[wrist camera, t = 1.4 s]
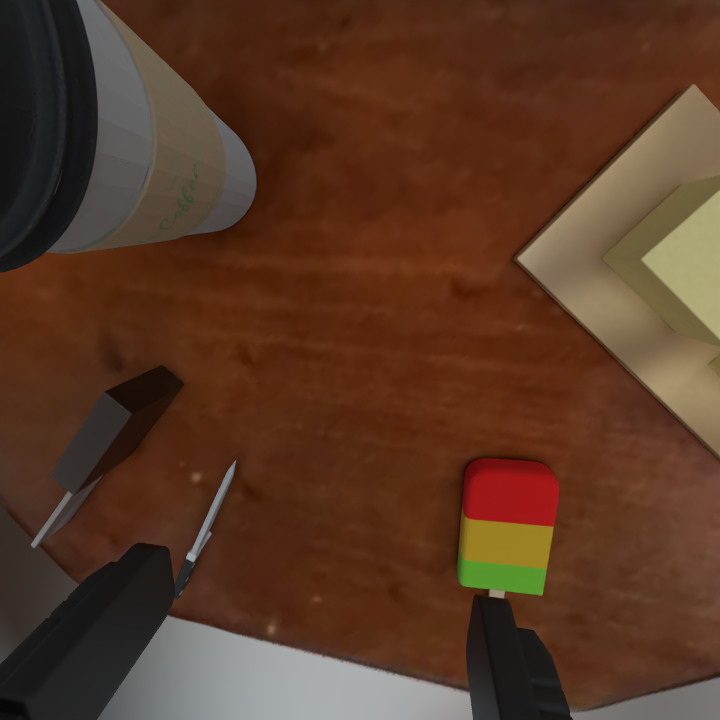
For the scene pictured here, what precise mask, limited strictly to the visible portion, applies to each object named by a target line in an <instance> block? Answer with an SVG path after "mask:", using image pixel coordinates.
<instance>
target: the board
mask: <svg viewBox="0 0 720 720" xmlns="http://www.w3.org/2000/svg"><path fill="white" fill-rule="evenodd" d="M717 175H720V112H719V111H718V110H717V108H716V107H715V106H714V105H713V104H712V103H711V102H710V101H709V100H708V99H707V97H706V96H705V95H704V94H703V93H702V92H701V91H700V90H699V89H698V88H697V87H696V85H695V84H692V85H690V86H689V87H687V88H685V89H684V90H682V91H680V92H679V93H678V94H677V95H676V96H675V97H674V98H673V99H672V100H671V101H670V102H669V103H668V104H667V105H666V106H665V107H664V108H663V109H662V110H661V111H660V112H659V113H658V114H657V115H656V116H655V117H654V118H653V119H652V120H651V121H650V122H649V123H648V124H647V125H645V126H644V127H643V128H642V129H641V130H640V131H639V132H638V133H637V134H636V135H635V136H634V137H633V138H632V139H631V140H630V141H629V142H628V143H627V144H626V145H625V146H624V147H623V148H622V149H621V150H620V151H619V152H618V153H617V154H616V155H615V156H614V157H613V158H612V159H611V160H610V161H609V162H608V163H607V164H606V165H605V166H604V167H603V168H602V169H601V170H600V171H599V172H598V173H597V174H596V175H595V176H594V177H593V178H592V179H591V180H590V181H589V182H588V183H587V184H586V185H585V186H584V187H583V188H582V189H581V190H580V191H579V192H578V193H577V194H576V195H575V196H574V197H573V198H572V199H571V200H570V201H569V202H568V203H567V204H566V205H565V206H564V207H563V208H562V209H561V210H560V211H559V212H558V213H557V214H556V215H555V216H554V217H553V218H552V219H551V220H550V221H549V222H548V223H547V224H546V225H545V226H544V227H543V228H542V229H541V230H540V231H539V232H538V233H537V234H536V235H535V236H534V237H533V238H532V239H531V240H530V241H529V242H528V243H527V244H526V245H525V246H524V247H523V248H522V249H521V250H520V251H519V252H518V253H517V254H516V255H515V256H514V257H513V260H514V261H515V262H516V263H517V264H518V265H519V266H520V267H521V268H522V269H523V270H524V271H525V272H526V273H527V274H528V275H529V276H530V277H531V278H532V279H533V280H534V281H536V282H537V283H538V284H539V285H540V286H541V287H542V288H543V289H544V290H545V291H546V292H547V293H548V294H549V295H550V296H551V297H552V298H553V299H554V300H555V301H556V302H557V303H558V304H559V305H560V306H561V307H562V308H563V309H564V310H565V311H566V312H567V313H569V314H570V315H571V316H572V317H573V318H574V319H575V320H576V321H577V322H578V323H579V324H580V325H581V326H582V327H583V328H584V329H585V330H586V331H587V332H588V333H589V334H590V335H591V336H592V337H593V338H594V339H595V340H596V341H597V342H598V343H599V344H600V345H602V346H603V347H604V348H605V349H606V350H607V351H608V352H609V353H610V354H611V355H612V356H613V357H614V358H615V359H616V360H617V361H618V362H619V363H620V364H621V365H622V366H623V367H624V368H625V369H626V370H627V371H628V372H629V373H630V374H631V375H632V376H633V377H635V378H636V379H637V380H638V381H639V382H640V383H641V384H642V385H643V386H644V387H645V388H646V389H647V390H648V391H649V392H650V393H651V394H652V395H653V396H654V397H655V398H656V399H657V400H658V401H659V402H660V403H661V404H662V405H663V406H664V407H665V408H666V409H668V410H669V411H670V412H671V413H672V414H673V415H674V416H675V417H676V418H677V419H678V420H679V421H680V422H681V423H682V424H683V425H684V426H685V427H686V428H687V429H688V430H689V431H690V432H691V433H692V434H693V435H694V436H695V437H696V438H697V439H698V440H699V441H701V442H702V443H703V444H704V445H705V446H706V447H707V448H708V449H709V450H710V451H711V452H712V453H713V454H714V455H715V456H716V457H717V458H718V459H719V460H720V376H719V375H718V374H717V373H716V372H715V371H714V370H713V369H712V368H711V367H710V366H709V365H708V364H709V363H711V362H712V361H713V360H715V359H716V358H718V357H719V356H720V347H718V346H715V345H712V344H709V343H705V342H702V341H699V340H696V339H693V338H690V337H687V336H684V335H681V334H678V333H676V332H675V331H674V330H673V329H672V328H671V327H670V326H669V325H668V324H667V323H666V322H665V321H664V320H663V319H662V318H661V317H660V316H659V315H658V314H657V313H656V312H655V311H654V310H653V309H652V308H651V307H650V306H649V305H648V304H647V303H646V302H645V301H644V300H643V299H642V298H641V297H640V296H639V295H638V294H637V293H636V292H635V291H634V290H633V289H632V288H631V287H630V286H629V285H628V284H627V283H626V282H625V281H624V280H623V279H622V278H621V277H620V276H619V275H618V274H617V273H616V272H615V271H614V270H613V269H612V268H611V267H610V266H609V265H608V264H607V263H606V262H605V261H604V260H603V259H602V256H604V255H605V254H606V253H607V252H608V251H609V250H610V249H611V248H612V247H613V246H615V245H616V244H617V243H618V242H619V241H620V240H621V239H622V238H623V237H624V236H625V235H627V234H628V233H629V232H630V231H631V230H632V229H633V228H634V227H635V226H636V225H638V224H639V223H640V222H641V221H642V220H643V219H644V218H645V217H646V216H647V215H649V214H650V213H651V212H652V211H653V210H654V209H655V208H656V207H657V206H658V205H660V204H661V203H662V202H663V201H664V200H665V199H666V198H667V197H668V196H669V195H671V194H672V193H673V192H674V191H675V190H676V189H677V188H678V187H679V186H680V185H682V184H684V183H688V182H692V181H696V180H700V179H704V178H708V177H712V176H717Z"/></svg>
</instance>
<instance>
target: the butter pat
mask: <svg viewBox="0 0 720 720" xmlns="http://www.w3.org/2000/svg"><path fill="white" fill-rule="evenodd" d="M708 365H709V366H710V367H711V368H712V369H713V370H714V371H715V372H716V373H717V374H718V375H719V376H720V356H719V357H718V358H716V359H715V360H713V361H712V362H711V363H709V364H708Z"/></svg>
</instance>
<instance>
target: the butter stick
mask: <svg viewBox="0 0 720 720" xmlns="http://www.w3.org/2000/svg"><path fill="white" fill-rule="evenodd" d="M602 259H603V260H604V261H605V262H606V263H607V264H608V265H609V266H610V267H611V268H612V269H613V270H614V271H615V272H616V273H617V274H618V275H619V276H620V277H621V278H622V279H623V280H624V281H625V282H626V283H627V284H628V285H629V286H630V287H631V288H632V289H633V290H634V291H635V292H636V293H637V294H638V295H639V296H640V297H641V298H642V299H643V300H644V301H645V302H646V303H647V304H648V305H649V306H650V307H651V308H652V309H653V310H654V311H655V312H656V313H657V314H658V315H659V316H660V317H661V318H662V319H663V320H664V321H665V322H666V323H667V324H668V325H669V326H670V327H671V328H672V329H673V330H674V331H675V332H676V333H678V334H681V335H684V336H687V337H690V338H693V339H696V340H699V341H702V342H705V343H709V344H712V345H715V346H718V347H720V175H717V176H712V177H708V178H704V179H700V180H696V181H692V182H688V183H684V184H682V185H680V186H679V187H678V188H677V189H676V190H675V191H674V192H673V193H672V194H671V195H669V196H668V197H667V198H666V199H665V200H664V201H663V202H662V203H661V204H660V205H658V206H657V207H656V208H655V209H654V210H653V211H652V212H651V213H650V214H649V215H647V216H646V217H645V218H644V219H643V220H642V221H641V222H640V223H639V224H638V225H636V226H635V227H634V228H633V229H632V230H631V231H630V232H629V233H628V234H627V235H625V236H624V237H623V238H622V239H621V240H620V241H619V242H618V243H617V244H616V245H615V246H613V247H612V248H611V249H610V250H609V251H608V252H607V253H606V254H605V255H604V256H602Z"/></svg>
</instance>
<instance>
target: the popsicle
mask: <svg viewBox="0 0 720 720" xmlns="http://www.w3.org/2000/svg"><path fill="white" fill-rule="evenodd" d="M558 500H559V484H558V481H557V479H556V477H555V475H554V474H553V472H552V471H551V470H550V469H549V468H548V467H547V466H546V465H544V464H541V463H539V462H534V461H526V460H511V459H496V458H480V459H477V460H474V461H473V462H471V463H470V464H469V466H468V467H467V469H466V472H465V476H464V487H463V500H462V512H461V525H460V537H459V550H458V562H457V572H458V579H459V582H460V584H461V585H462V586H465V587H474V588H483V589H489V595H488V596H491V597H497V598H504V593H505V591H509V592H517V593H526V594H535V595H542V594H543V588H544V582H545V577H546V571H547V565H548V559H549V553H550V547H551V541H552V535H553V529H554V523H555V517H556V511H557V506H558Z"/></svg>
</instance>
